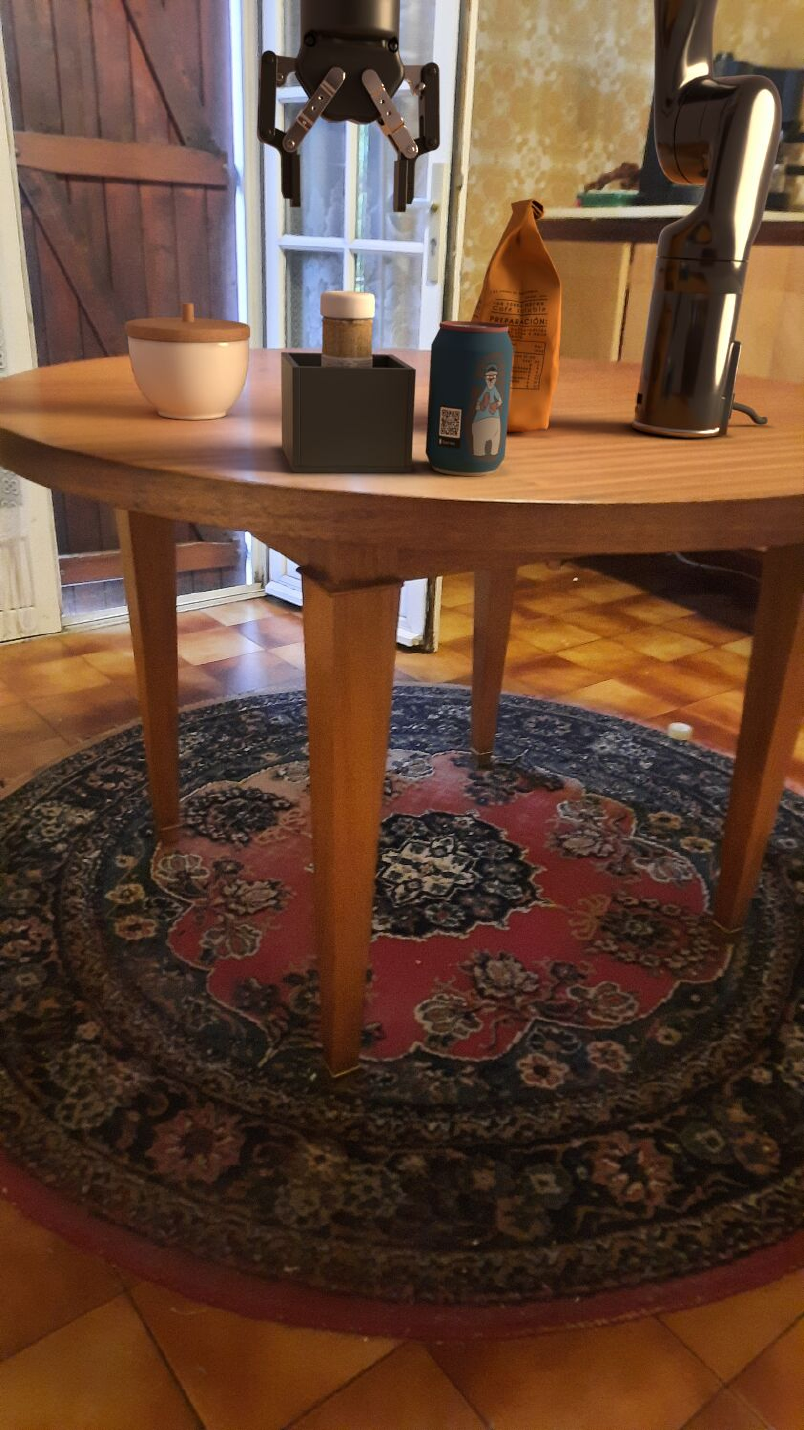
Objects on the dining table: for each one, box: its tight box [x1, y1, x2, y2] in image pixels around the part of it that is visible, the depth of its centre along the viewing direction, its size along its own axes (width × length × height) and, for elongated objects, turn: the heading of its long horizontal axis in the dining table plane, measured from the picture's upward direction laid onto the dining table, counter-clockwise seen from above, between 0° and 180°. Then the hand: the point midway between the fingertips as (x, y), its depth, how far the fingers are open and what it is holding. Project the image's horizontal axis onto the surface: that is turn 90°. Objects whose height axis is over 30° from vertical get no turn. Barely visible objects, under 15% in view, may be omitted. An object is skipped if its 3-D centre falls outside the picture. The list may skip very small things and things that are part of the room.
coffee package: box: [470, 197, 563, 433], centre depth 105 cm, size 10×12×22 cm
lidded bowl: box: [124, 302, 251, 421], centre depth 106 cm, size 13×13×11 cm
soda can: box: [425, 320, 514, 477], centre depth 87 cm, size 7×7×12 cm
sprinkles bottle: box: [319, 290, 376, 368], centre depth 88 cm, size 5×5×13 cm
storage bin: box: [280, 351, 417, 474], centre depth 89 cm, size 10×10×8 cm
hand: (348, 209), depth 82 cm, fingers open, 8 cm apart
